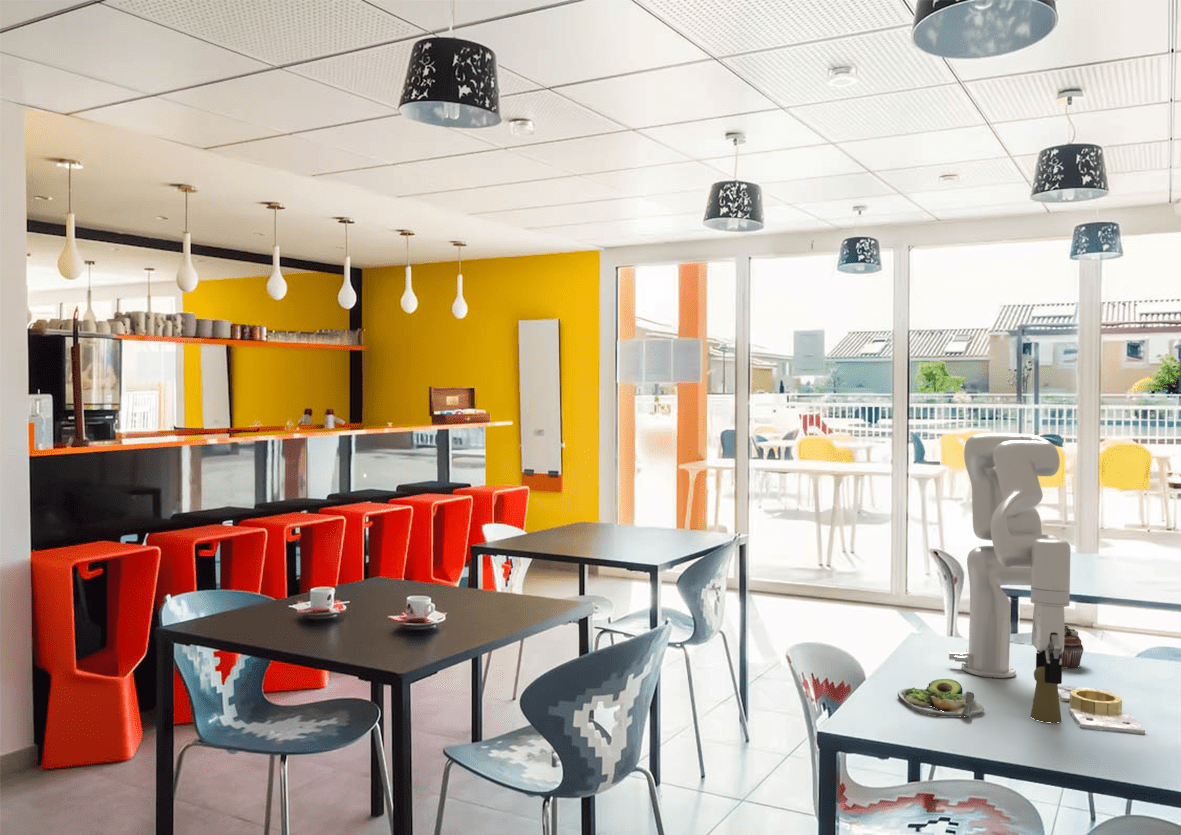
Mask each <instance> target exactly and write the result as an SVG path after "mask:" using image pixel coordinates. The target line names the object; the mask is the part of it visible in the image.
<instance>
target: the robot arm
mask: <svg viewBox="0 0 1181 835" xmlns="http://www.w3.org/2000/svg"><path fill="white" fill-rule="evenodd" d="M963 458H964V463H965V468H966V471H967V474H968V477H969V480H970V484H971V506H972V512H971V513H972V528H973V533H974V534H975V536H976V537H977V538H978V539H981V540H984V541H992V545H983V546H977V547H975V548H972V549H971V550H970V551H969V552H968V554H967V559H966V565H967V566H966V567H967V572H968V581H969V624H968V625H969V627H968V634H969V635H968V648H966V649H965V651H962V652H961V653H960V652H956V651H955V652H954V651H949V652H948V660H949V661H950V660H951V661H954V662H959V663H960V662H962V663H961V670H963V671H964V672H966V673H968V674H972V675H974V674H975V676H979V677H983V678H984V677H985V678H992V677H993V678H994V679H1005V678H1012V677H1014V676H1016V675H1017V674H1016V669H1015V667H1013V666H1010V645H1011V644H1010V642H1011V639H1010V638H1011V615H1012V614H1011V612H1012V610H1011V609H1012V607H1011V606H1012V604H1011V601H1010V598H1009V597H1008V596H1007V595H1006V592H1004V591H1003V589H1002V587H1001V586H1007V585H1009V586H1030V603H1032V604H1033V612H1032V614H1033V615H1032V628H1031V643H1032V644H1031V645H1032V646H1033V647H1034V648H1035V649H1036V652H1035V654H1036V655H1035V669H1036V668H1038V667H1045V682H1046V683H1054V684H1058V685H1061V684H1062V683H1063V681H1062V680H1063V679H1062V678H1063V668H1062V659H1061V653H1062V652H1063V651H1064V629H1065V628H1064V626H1065V608H1066V607H1069V606H1070V604H1071V602H1070V600H1071V599H1070V595H1071V594H1070V593H1071V591H1070V590H1071V545H1070V543H1069V542H1068V541H1067V540H1064V539H1061V538H1059V537H1058V536H1056V535H1052V534H1043V533H1042V521H1041V516H1040V514H1039V512H1038V510H1037V509H1036V508H1035V507H1036V506H1038V505H1039V504H1040V503H1041V501H1042V500H1043V495H1044V494H1043V490H1042V488H1041V487H1042V486H1041V483H1040V481H1039V477H1053V476H1054V475H1056V474H1057V472H1058V471H1059V468H1060V465H1061V461H1060V460H1061V458H1060V454H1059V452H1058V448H1057V447H1056V446H1055V445H1054V444H1053V443H1052V442H1051V441H1049V440H1047V439H1045V438H1043V437H1041V436H1039V435H1035V434H1029V433H1028V434H1027V433H1026V434H1025V433H998V432H995V433H994V432H993V433H992V432H990V433H989V432H987V433H979V434H978V433H977V434H974V435H971V436H970V437H968V439H966V441H965V445H964V450H963Z"/></svg>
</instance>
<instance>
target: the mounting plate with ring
mask: <svg viewBox="0 0 1181 835" xmlns="http://www.w3.org/2000/svg"><path fill="white" fill-rule="evenodd" d="M1058 694H1059V697H1060V698H1059V700H1060V701H1061V700H1062V701H1061V702H1063V701H1069V702H1068V704H1069V705H1070V706H1071V707H1070V706H1069V713H1070V715H1071V714H1072V715H1071V716H1072V717H1074V718H1073V719H1074V720H1075V722H1076V721H1077V722H1076V724H1077V725H1078V724H1079V725H1080V726H1079V725H1078V726H1079V727H1080V728H1081V727H1082V728H1081V729H1087V728H1092V729H1091V730H1096V729H1102V730H1101V731H1106V730H1109V731H1108V732H1116V731H1118V733H1126V732H1127V734H1137V735H1146V730H1145V729H1144V727H1143V726H1142V725H1141V724H1140V723H1139V722H1138V721H1137V720H1136V718H1135V717H1134V716H1133V715H1132V714H1130V713H1123V712H1122V711H1123V699H1122V697H1120V696H1119V695H1116V694H1113V693H1111V691H1110V690H1109V689H1106V688H1105V689H1104V688H1093V687H1084V686H1083V687H1081V686H1073V685H1072V686H1071V685H1061V684H1058Z"/></svg>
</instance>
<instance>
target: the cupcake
mask: <svg viewBox="0 0 1181 835" xmlns="http://www.w3.org/2000/svg"><path fill="white" fill-rule="evenodd" d="M1064 628H1065V629H1064V651H1063V652H1062V653H1061V659H1062V667H1067V668H1066V669H1075V668H1074V667H1078V666H1079V667H1080V666H1081V661H1082V656H1083V653H1084V646H1083V644H1082V639H1081V638H1080V636H1079V631H1078V630H1076V629H1074V628H1070V627H1069V626H1068V625H1064ZM1079 667H1078V668H1079Z"/></svg>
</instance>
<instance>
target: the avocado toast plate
mask: <svg viewBox="0 0 1181 835" xmlns="http://www.w3.org/2000/svg"><path fill="white" fill-rule="evenodd" d="M897 698H898V699H899V700H900V702H902V703H903V704H905V705H906V706H907V705H908V707H909V708H911V709H912V708H913V710H914V709H915V710H914V711H916V710H917V712H918V711H919V713H920V712H922V713H921V714H924V713H925V714H924V715H928V714H930V715H929V716H932V715H936V716H935V717H939V716H961V717H960V718H967V717H966V716H968V717H971V716H974V715H977V714H979V713H982V712H983V711H985V706H984V705H983V704H982V703H980V702H979V701H977V700H975V693H974V692H973V691H972V692H970V691H966V692H965V691H964V692H963V687H962V684H961V683H960V682H958V681H957V680H954V679H952V678H951V679H950V678H940V679H936V680H932V681H930V682H929V683H928V686H926V688H925V689H924V688H915V687H912V688H911V687H910V688H902V689H900V690H898V691H897ZM912 704H915V705H912ZM918 705H921V706H918ZM926 706H932V707H935V708H937V709H938V710H942V711H944V712H942V711H938V710H937V709H936V710H934V709H933V710H932V709H927V708H925V707H926ZM932 707H931V708H932ZM964 716H965V717H964Z"/></svg>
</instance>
